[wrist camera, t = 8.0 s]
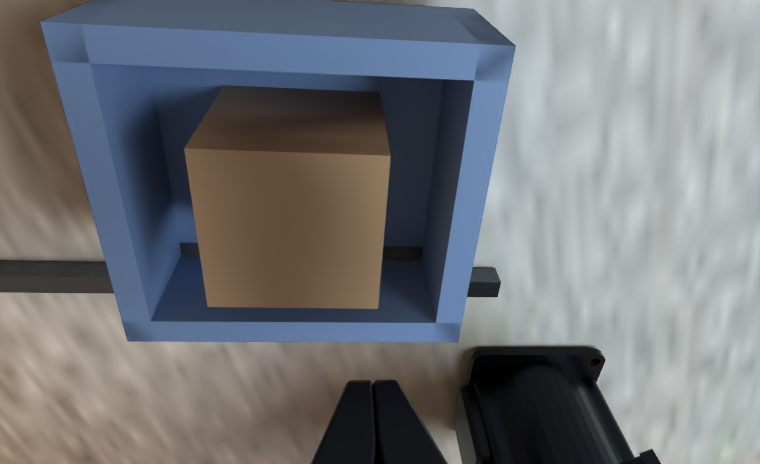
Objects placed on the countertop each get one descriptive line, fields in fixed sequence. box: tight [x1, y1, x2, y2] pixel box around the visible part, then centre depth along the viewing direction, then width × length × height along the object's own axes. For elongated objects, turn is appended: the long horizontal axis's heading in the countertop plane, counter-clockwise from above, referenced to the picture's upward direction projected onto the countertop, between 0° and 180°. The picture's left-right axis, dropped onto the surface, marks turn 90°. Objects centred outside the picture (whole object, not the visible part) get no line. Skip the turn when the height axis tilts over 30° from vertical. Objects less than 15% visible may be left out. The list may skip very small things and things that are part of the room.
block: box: [184, 85, 391, 309], centre depth 15 cm, size 4×4×4 cm
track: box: [0, 261, 501, 297], centre depth 16 cm, size 28×14×4 cm, turn 86°
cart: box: [40, 0, 516, 342], centre depth 16 cm, size 10×9×6 cm
